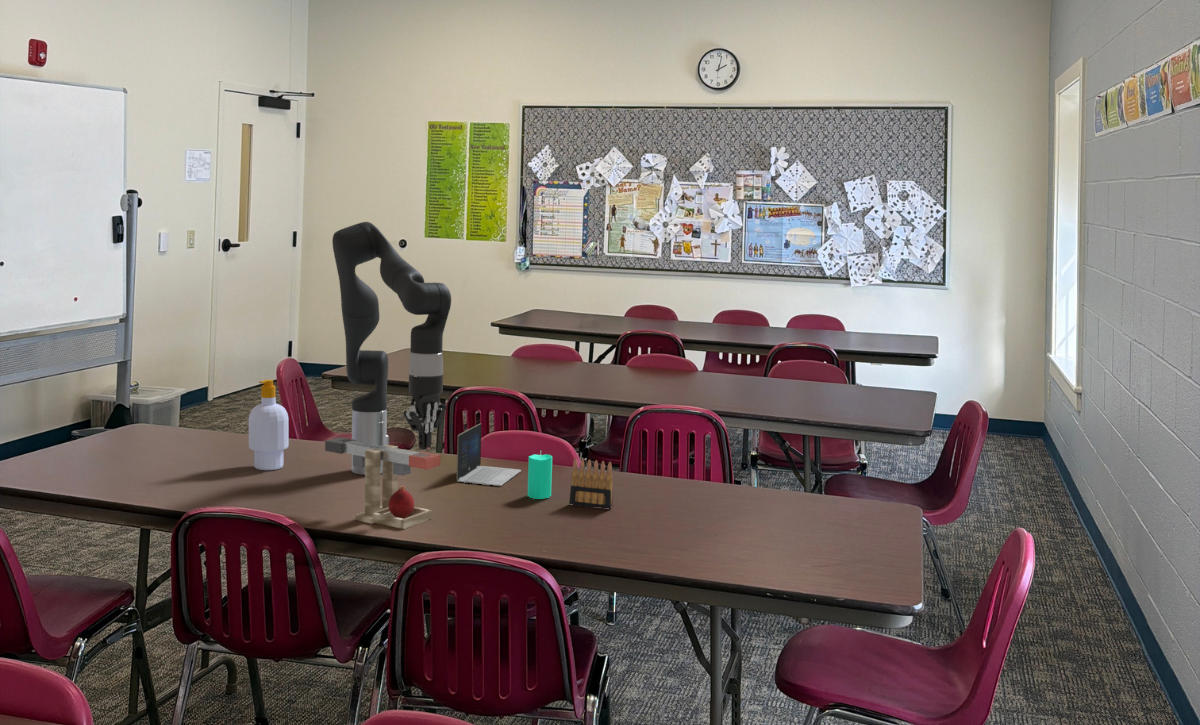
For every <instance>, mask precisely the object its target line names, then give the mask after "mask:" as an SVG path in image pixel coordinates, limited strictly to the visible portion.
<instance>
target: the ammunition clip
mask: <svg viewBox="0 0 1200 725" xmlns="http://www.w3.org/2000/svg"><path fill="white" fill-rule="evenodd" d="M586 463H587V464H586V469H585V461H584V459H583V458H581V460H580V465H578V459H577V458H576V457H575V458H574V459H573V464H572V471H571V472H572V473H571V479H570V480H571V483H570V489H569V491H570V492H569V504H573V505H580V506H579V507H581V506H588V507H587V508H590V507H601V508H609V509H611V506H612V507H614V505H613V466H612V462H611V461H609V462H608V464H607V468H606V464H605V461H604V460H602V461H601V464H600V468H599V464H598V460H597V459H596V460H595V461H594V463H593V471H592V462H591V459H588V461H587V462H586ZM578 466H579V468H578ZM599 469H600V470H599ZM578 470H579V472H578ZM585 470H586V471H585ZM599 471H600V472H599ZM585 472H586V473H585ZM569 504H568V505H569ZM611 510H612V509H611Z"/></svg>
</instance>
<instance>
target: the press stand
mask: <svg viewBox="0 0 1200 725" xmlns="http://www.w3.org/2000/svg"><path fill="white" fill-rule="evenodd" d="M385 446H386V447H392V448H398V449H399V446H398V445H391V444H389V445H385ZM380 471H381V451H378V450H372V449H370V450H366V451H365V475H364V511H363V512H360V513H357V514H355V515H354V520H355V521H357V520H358V521H357V522H363V523H366V524H367V523H368V524H370V525H371V524H379V525H384V526H389V527H393V528H396V529H402V530H406V529H409V528H412V527H414V526H416V525H419V524H422V523H425V522H427V521H430V520H432V519H433V510H431V509H428V508H427V509H426V508H423V507H417V506H414V509H413V511H412V513H411V514H410V515H409V516H407V517H406V518H405V519H403V518H398V517H395V516H393V514H392V513H391V512H390V510H389V506H388V505H389V500H390V498H391V496H392V495H393V494H394V493H395V492H396V491H398V475H397V474H393V462H390V461H384V460H383V468H382V473H381V474H382V476H381V474H380ZM381 478H382V482H381ZM381 483H382V484H381ZM381 486H382V487H381ZM381 492H382V493H381ZM381 495H382V496H381ZM429 519H430V520H429Z"/></svg>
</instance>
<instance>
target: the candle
mask: <svg viewBox="0 0 1200 725" xmlns="http://www.w3.org/2000/svg"><path fill="white" fill-rule="evenodd" d="M527 464H528V468H527V469H528V470H527V497H528V496H529V497H530V498H534V499H544V498H549V497H550V496H551V497H552V481H553V480H552V478H553V475H552V474H553V456H552V455H551V454H542V450H540V453H539V454H532V455H529V456H528V463H527ZM530 498H529V499H530ZM534 499H533V500H534Z"/></svg>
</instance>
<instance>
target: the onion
mask: <svg viewBox="0 0 1200 725" xmlns="http://www.w3.org/2000/svg"><path fill="white" fill-rule="evenodd" d="M388 506H389V510H390V512H391V513H392V514H393V517H398V518H403V519H405V518H407V517H409V516H410V514H411V513H412V511H413V509H414V507H415V500H414V497H413V495H412V494H411V493H410V492H409V491H407V490H406V487H405V486H404V485H401V486H400V487H399V488H398V489H397V491H396V492H395V493H394V494H393V495H392V496H391V498H390V500H389V505H388Z"/></svg>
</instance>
